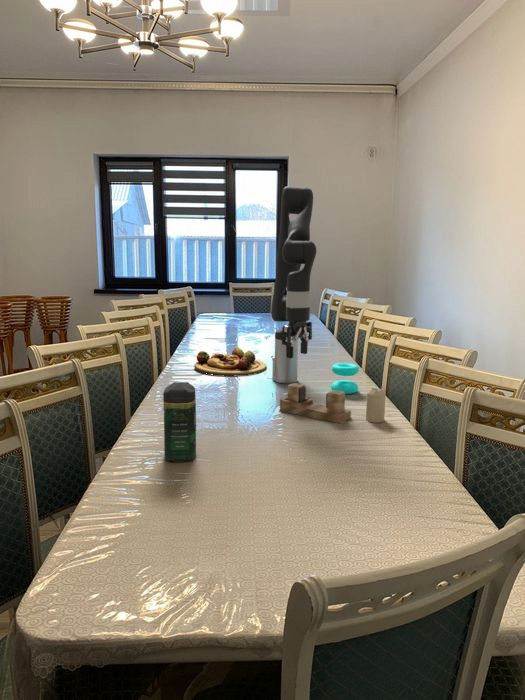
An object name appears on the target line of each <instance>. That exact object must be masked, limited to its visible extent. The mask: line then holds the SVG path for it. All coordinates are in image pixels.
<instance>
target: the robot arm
mask: <svg viewBox="0 0 525 700" xmlns="http://www.w3.org/2000/svg"><path fill="white" fill-rule="evenodd" d="M280 200H281V201H280V223H279V224H280V225H279V236H278V245H277V253H276V263H275V264H276V267H275V283H274V289H273V295H272V301H271V308H270V309H271V310H270V311H271V312H270V313H271V318H272V320H273V321H274V322H278V323H279V322H284V323H285V322H288V324H287V325H282V327H281V328H279V329H278V330H276V331H275V333H274V356H273V357H272V372H271V373H272V374H271V375H272V379H271V380H272V381H275V382H276V383H280V384H293V383H297V382H298V377H299V376H298V372H299V371H298V370H299V369H298V368H299V364H298V363H299V362H298V361H299V341H300V354H303V355H307V354H308V345H309V344H308V343H309V342H310V340H312V338H313V322H312V321H310V319H311V318H310V316H311V313H310V312H311V295H310V293H311V292H310V287H311V285H310V284H311V281H310V280H311V274H312V273H311V272H312V269H313V266H314V262H315V259H316V256H317V247H316V244H315V242H313V241H312V240H311V229H310V227H311V222H312V221H311V220H312V215H313V205H314V193H313V190H312V189H311V188H309V187H304V186H303V187H301V186H288V185H287V186H285V187H283V189H282V191H281V199H280ZM290 214H291V215H295V216H294V217H293V218H292V219H291V220H290ZM302 265H303V268H302ZM301 268H302V269H301ZM286 290H287V291H286ZM285 291H286V297H284V296H285Z"/></svg>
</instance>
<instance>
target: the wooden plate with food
mask: <svg viewBox="0 0 525 700" xmlns="http://www.w3.org/2000/svg"><path fill="white" fill-rule="evenodd" d="M193 367H194V369H195V370H196V371H197V370H198V371H197V372H199V371H200V372H199V373H201V372H203V373H202V374H204V373H207V374H206V375H208V374H213V375H212V376H214V375H224V376H223V377H235V376H234V375H246V376H249V375H248V374H253V375H255V374H254V373H257V374H260V373H259V372H261V373H263V372H264V370H265V371H266V370H267V367H268V366H267V364H266V363H265V362H264V361H262V360H259V359H256V355H255V353H254V352H252V351H251V350H247V351H245V352H244V350H243V349H242V348H240V347H238V346H237V347H235V348H234V349H233V350H232V352H231V354H229V353H228V354H227V353H226V354H222V353H218V352H217V353H214V354H212V355H211V356H210V354H209V353H208V352H207V351H204V350H200V351H199V352H198V353H197V355H196V362H195V363H194V366H193ZM262 371H263V372H262Z"/></svg>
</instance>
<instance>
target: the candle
mask: <svg viewBox="0 0 525 700" xmlns="http://www.w3.org/2000/svg"><path fill="white" fill-rule="evenodd" d="M385 410H386V393H385V391H384V390H383V389H382V388H374V387H371V388H370V390H368V391H367V393H366V411H365V420H366V421H368V422H369V423H375V424H379V422H380V423H383V422H384V421H385V413H386V411H385Z"/></svg>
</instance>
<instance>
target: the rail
mask: <svg viewBox="0 0 525 700" xmlns="http://www.w3.org/2000/svg"><path fill="white" fill-rule="evenodd" d="M325 398H326V399H325V404H320V403H315V402H314V399H313V398H307V397H305V401H304V402H303V403H298V402H293V401H288V396H286V397H283V398H281V399H280V400H279V411H280V410H281V412H286V413H289V414H290V413H291V414H295V415H299V416H305V417H309V418H314V419H319V420H322V421H323V420H324V421H328V422H332V423H337V424H343V423H344V422H346V421H349V419H352V418H351V417H352V415H351V414H352V410H351V409H346V407H345V406H346V405H345V404H346V394H345V392H342V391H337V390H332V389H331V390H330V391H328V392H327V393H326V397H325Z"/></svg>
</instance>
